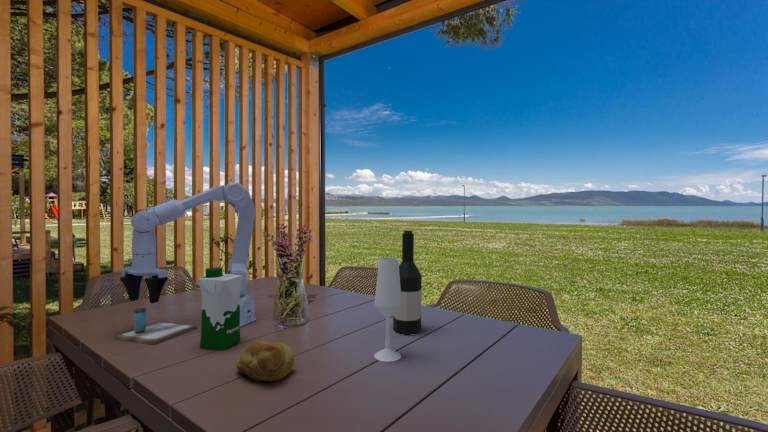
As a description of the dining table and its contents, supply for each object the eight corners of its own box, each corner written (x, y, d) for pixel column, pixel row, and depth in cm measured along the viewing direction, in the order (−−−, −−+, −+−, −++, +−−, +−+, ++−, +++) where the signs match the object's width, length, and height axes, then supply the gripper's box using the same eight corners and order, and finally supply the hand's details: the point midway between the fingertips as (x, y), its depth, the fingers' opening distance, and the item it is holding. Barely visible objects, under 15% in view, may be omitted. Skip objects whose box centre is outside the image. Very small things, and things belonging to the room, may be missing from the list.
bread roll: (225, 376, 76) (225, 339, 76) (259, 360, 85) (259, 326, 85) (271, 390, 71) (271, 350, 71) (302, 371, 80) (303, 335, 79)
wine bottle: (420, 327, 111) (422, 230, 111) (421, 336, 103) (422, 231, 102) (394, 325, 112) (395, 229, 112) (392, 334, 104) (393, 231, 103)
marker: (148, 331, 102) (148, 308, 102) (139, 334, 99) (139, 310, 99) (140, 330, 102) (141, 307, 102) (131, 333, 100) (131, 310, 100)
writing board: (196, 328, 107) (196, 325, 107) (154, 344, 94) (154, 341, 94) (161, 323, 111) (161, 320, 111) (115, 338, 98) (115, 335, 98)
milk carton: (216, 337, 100) (217, 265, 100) (245, 340, 98) (246, 267, 98) (194, 349, 91) (194, 270, 91) (225, 352, 90) (226, 272, 89)
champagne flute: (405, 354, 89) (407, 258, 89) (392, 363, 84) (394, 261, 83) (382, 348, 93) (383, 256, 93) (368, 357, 87) (369, 259, 87)
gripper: (111, 254, 100) (111, 302, 100) (150, 256, 96) (150, 307, 96) (135, 251, 107) (135, 296, 107) (173, 253, 103) (173, 300, 103)
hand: (144, 301), depth 102 cm, fingers open, 7 cm apart
